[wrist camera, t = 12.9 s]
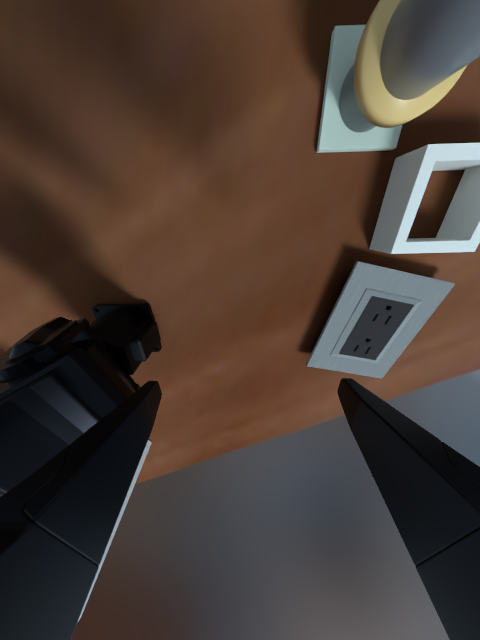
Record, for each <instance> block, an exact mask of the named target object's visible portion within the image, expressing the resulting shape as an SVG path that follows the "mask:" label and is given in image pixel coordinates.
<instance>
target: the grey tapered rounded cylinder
mask: <svg viewBox="0 0 480 640" xmlns="http://www.w3.org/2000/svg"><path fill="white" fill-rule="evenodd" d="M478 57H480V0H380V1H379V2H378V4H377V6H376V7H375V9H374V10H373V12H372V14H371V16H370V18H369V19H368V21H367V24H366V26H365V28H364V31H363V33H362V36H361V39H360V42H359V45H358V49H357V53H356V58H355V63H354V64H353V66H352V67H351V68H350V70H349V72H348V74H347V75H346V78H345V80H344V83H343V85H342V89H341V94H340V102H339V103H340V114H341V117H342V120H343V122H344V124H345V125H346V126H347V127H348V128H349V129H350V130H352V131H354V132H358V133H362V132H366V131H369V130H371V129H373V128H374V127H376V126H378V127H382V128H392V127H397V126H400V125H403V124H405V123H407V122H409V121H411V120H412V119H414V118H416V117H418V116H419V115H421V114H423V113H424V112H426V111H427V110H429V109H430V108H432V107H433V106H434V105H435V104H437V103H438V102H439V101H440V100H441V99H442V98H443V97H444V96H445V95H446V94H447V93H448V92H449V90H450V89H451V88H452V87H453V86H454V84H455V83H456V82H457V80H458V79H459V77H460V76H461V74H462V73H463V71H464V70H465V68H466V66H467V65H468V64H469V63H471V62H472V61H474V60H475V59H477V58H478Z"/></svg>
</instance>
